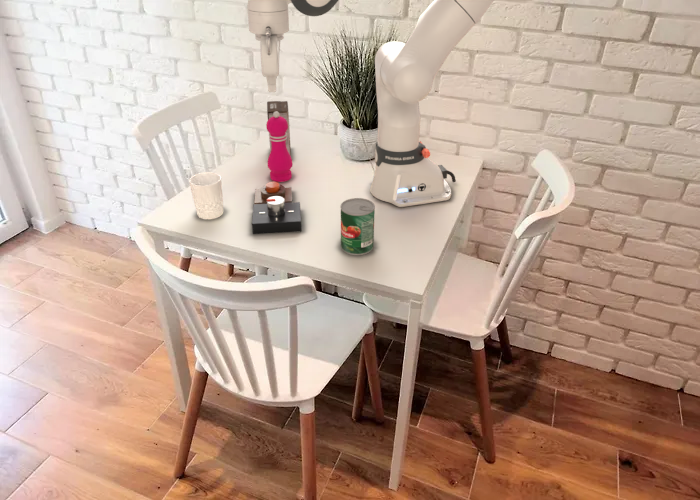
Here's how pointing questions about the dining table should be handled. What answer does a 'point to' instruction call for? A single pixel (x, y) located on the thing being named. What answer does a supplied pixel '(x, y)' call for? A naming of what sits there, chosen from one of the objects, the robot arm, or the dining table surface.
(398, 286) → the dining table surface
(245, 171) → the dining table surface
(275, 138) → the pepper mill
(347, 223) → the canned tomato
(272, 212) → the hob knob
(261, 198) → the button box
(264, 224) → the hob panel
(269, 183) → the button
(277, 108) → the coffee box
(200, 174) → the white cup
